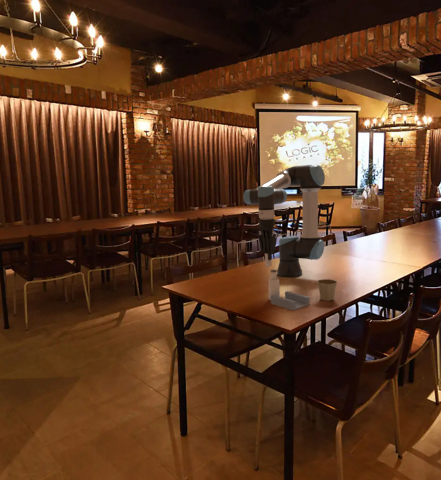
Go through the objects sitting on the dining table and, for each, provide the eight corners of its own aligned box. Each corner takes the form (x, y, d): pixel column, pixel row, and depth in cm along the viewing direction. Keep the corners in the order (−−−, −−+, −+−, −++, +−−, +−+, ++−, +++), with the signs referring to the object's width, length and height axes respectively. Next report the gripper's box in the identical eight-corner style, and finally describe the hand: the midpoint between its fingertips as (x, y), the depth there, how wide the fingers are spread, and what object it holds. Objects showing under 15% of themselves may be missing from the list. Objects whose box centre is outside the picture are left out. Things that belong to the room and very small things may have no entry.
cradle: (271, 303, 186) (270, 295, 185) (287, 298, 192) (287, 290, 192) (292, 310, 175) (292, 302, 174) (309, 304, 181) (309, 296, 180)
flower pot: (333, 295, 193) (333, 278, 192) (340, 301, 184) (340, 283, 182) (314, 296, 193) (314, 279, 191) (320, 302, 183) (320, 284, 182)
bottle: (266, 299, 193) (265, 270, 190) (274, 297, 196) (273, 268, 193) (274, 301, 188) (273, 272, 186) (282, 299, 191) (281, 270, 189)
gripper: (251, 218, 192) (253, 265, 196) (270, 220, 182) (272, 269, 185) (262, 216, 196) (264, 262, 200) (282, 218, 186) (283, 266, 190)
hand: (268, 266), depth 193 cm, fingers closed
